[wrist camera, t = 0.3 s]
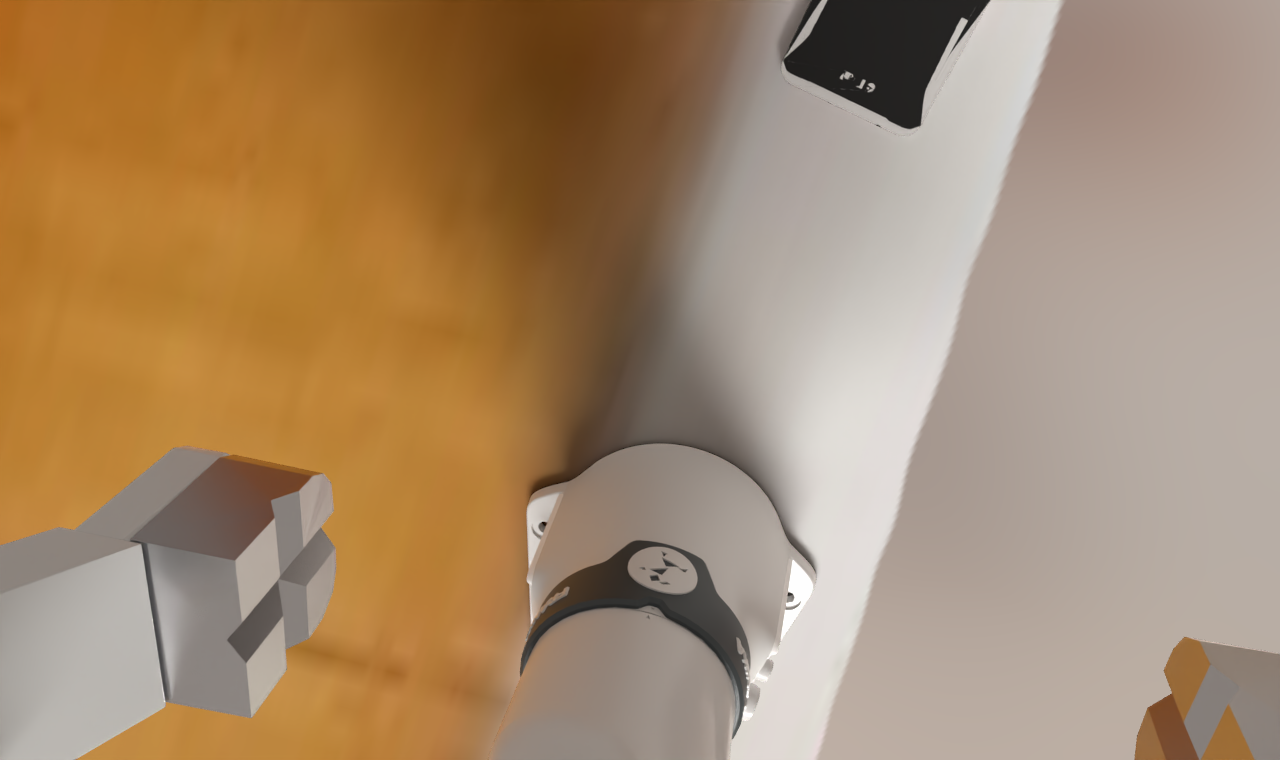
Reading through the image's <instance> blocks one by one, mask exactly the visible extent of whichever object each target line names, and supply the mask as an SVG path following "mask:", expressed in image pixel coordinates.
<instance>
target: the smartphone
mask: <svg viewBox="0 0 1280 760" xmlns="http://www.w3.org/2000/svg"><path fill="white" fill-rule="evenodd" d="M990 1H991V0H811V2H810V4H809V6H808V8H807V10H806V12H805V14H804V17H803V19H802V21H801V23H800V25H799V27H798V29H797V31H796V33H795V35H794V38H793V40H792V42H791V44H790V46H789V48H788V50H787V52H786V54H785V56H784V59H783V61H782V65H781V72H782V75H783V77H784V79H785V80H786V81H787V82H788V83H789V84H791V85H793V86H795V87H797V88H799V89H801V90H803V91H805V92H807V93H810V94H812V95H814V96H816V97H818V98H820V99H822V100H824V101H826V102H828V103H830V104H833V105H835V106H837V107H839V108H841V109H843V110H845V111H847V112H849V113H851V114H853V115H856V116H858V117H860V118H862V119H864V120H866V121H868V122H870V123H872V124H874V125H877V126H879V127H881V128H883V129H885V130H887V131H889V132H891V133H893V134H895V135H898V136H908V135H911V134H913V133H915V132H916V131H917V130H918V129H919V128H920V126H921V124H922V123H923V121H924V119H925V117H926V115H927V114H928V112H929V110H930V108H931V106H932V105H933V103H934V101H935V99H936V98H937V96H938V94H939V92H940V90H941V89H942V87H943V85H944V83H945V81H946V80H947V78H948V76H949V74H950V72H951V71H952V69H953V67H954V65H955V63H956V62H957V60H958V58H959V56H960V55H961V53H962V51H963V49H964V47H965V46H966V44H967V42H968V40H969V38H970V37H971V35H972V33H973V31H974V29H975V28H976V26H977V24H978V22H979V20H980V19H981V17H982V15H983V13H984V12H985V10H986V8H987V6H988V4H989V3H990Z"/></svg>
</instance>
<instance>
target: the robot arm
mask: <svg viewBox="0 0 1280 760" xmlns="http://www.w3.org/2000/svg"><path fill="white" fill-rule="evenodd" d="M333 511H334V509H333V498H332V486H331V482H330V481H329V480H328V479H327V478H326V476H325V475H324V474H323V473H318V472H314V471H309V470H304V469H299V468H295V467H290V466H285V465H280V464H276V463H271V462H266V461H261V460H257V459H252V458H247V457H242V456H238V455H229V454H227V453H223V452H218V451H212V450H207V449H202V448H196V447H191V446H183V447H176V448H173V449H172V450H170V451H169V452H168V453H167V454H166V455H164V456H163V457H162V458H161V459H159V460H158V461H157V462H156V463H155V464H153V465H152V466H151V467H150V468H149V469H147V470H146V471H145V472H144V473H143V474H141V475H140V476H139V477H138V478H137V479H135V480H134V481H133V482H132V483H130V484H129V485H128V486H127V487H126V488H124V489H123V490H122V491H121V492H120V493H118V494H117V495H116V496H115V497H114V498H112V499H111V500H110V501H109V502H108V503H106V504H105V505H104V506H103V507H101V508H100V509H99V510H98V511H97V512H95V513H94V514H93V515H92V516H91V517H89V518H88V519H87V520H86V521H85V522H83V523H82V524H81V525H80V526H79V527H77V528H76V529H75V530H71V529H66V528H60V527H58V528H55V529H52V530H49V531H45V532H42V533H39V534H36V535H33V536H29V537H26V538H23V539H20V540H16V541H13V542H10V543H7V544H4V545H0V760H75V759H77V758H79V757H81V756H82V755H84V754H86V753H87V752H89V751H91V750H93V749H94V748H96V747H98V746H99V745H101V744H103V743H104V742H106V741H108V740H110V739H111V738H113V737H115V736H116V735H118V734H120V733H122V732H123V731H125V730H127V729H128V728H130V727H132V726H134V725H135V724H137V723H139V722H140V721H142V720H144V719H146V718H147V717H149V716H151V715H152V714H154V713H156V712H157V711H159V710H161V709H163V708H164V707H165V706H166V703H165V702H169V703H174V704H180V705H185V706H190V707H195V708H201V709H206V710H211V711H217V712H222V713H227V714H232V715H238V716H243V717H248V718H252V717H253V715H254V714H255V713H256V711H257V710H258V708H259V707H260V706H261V704H262V703H263V702H264V700H265V699H266V697H267V696H268V695H269V693H270V692H271V691H272V689H273V688H274V686H275V685H276V684H277V682H278V681H279V679H280V678H281V677H282V675H283V674H284V673H285V671H286V670H287V665H286V650H285V649H288V648H290V647H292V646H294V645H296V644H298V643H300V642H302V641H304V640H307V639H309V638H310V636H311V635H312V633H313V632H314V630H315V629H316V627H317V626H318V624H319V623H320V621H321V620H322V618H323V616H324V613H325V611H326V608H327V605H328V603H329V600H330V597H331V595H332V592H333V587H334V580H335V573H336V550H335V547H334V545H333V544H332V542H331V541H330V540H329V538H328V537H327V535H326V534H325V533H324V531H323V530H322V528H321V526H322V525H323V524H324V522H325V521H326V520H327V519H328V517H329V516H330V515H331V514H332V512H333ZM542 522H547V525H546V526H544V525H543V524H542ZM527 539H528V565H529V571H528V575H527V582H528V583H529V591H530V617H531V626H530V629H529V632H528V634H527V637H526V640H525V641H527V642H526V645H525V647H524V651H523V654H522V658H521V667H520V677H521V678H520V680H519V683H518V685H517V687H516V690H515V692H514V695H513V697H512V699H511V702H510V704H509V707H508V709H507V711H506V714H505V716H504V719H503V721H502V723H501V726H500V728H499V731H498V733H497V735H496V738H495V740H494V743H493V745H492V748H491V750H490V753H489V757H488V760H730V751H731V741H732V739H733V738H734V736H735V735H736V732H737V730H738V728H739V726H740V724H741V721H745V720H746V721H748V720H749V719H750V718H751V716H752V715H753V713H754V711H755V708H756V706H757V703H758V700H759V696H760V688H759V687H758V686H757V685H755V684H753V683H754V681H755V680H756V679H757V680H759V681H762V682H766V681H767V680H768V678H769V676H770V674H771V672H772V669H773V661H772V660H770V657H771V656H772V655H775V654H776V653H777V651H778V649H779V645H780V642H781V640H782V639H783V637H784V636H785V634H786V633H787V631H788V630H789V628H790V627H791V625H792V624H793V622H794V621H795V619H796V618H797V616H798V615H799V613H800V612H801V610H802V609H803V607H804V606H805V604H806V603H807V601H808V600H809V598H810V597H811V595H812V593H813V591H814V588H815V584H816V573H815V571H814V569H813V568H812V566H811V565H810V564H809V562H808V561H807V560H806V559H805V558H804V557H803V556H802V555H801V554H800V553H799V552H798V551H797V550H796V549H795V548H794V547H793V546H792V545H791V544H790V542H789V541H788V539H787V537H786V535H785V533H784V530H783V528H782V525H781V522H780V520H779V517H778V515H777V513H776V510H775V508H774V507H773V505H772V503H771V502H770V500H769V499H768V497H767V496H766V494H765V493H764V492H763V491H762V489H761V488H760V487H759V486H758V485H757V484H756V483H755V482H754V481H753V480H752V479H751V478H750V477H749V476H748V475H746V474H745V473H744V472H743V471H741V470H740V469H739V468H737V467H736V466H734V465H733V464H731V463H729V462H728V461H726V460H724V459H722V458H720V457H718V456H716V455H713V454H711V453H708V452H706V451H703V450H699V449H696V448H692V447H688V446H682V445H675V444H645V445H638V446H633V447H629V448H625V449H622V450H619V451H617V452H614V453H612V454H610V455H608V456H606V457H604V458H602V459H600V460H599V461H597V462H596V463H594V464H593V465H592V466H590V467H589V468H588V469H587V470H585V471H584V472H583V473H582V474H580V475H579V476H577V477H576V478H574V479H573V480H571V481H569V482H564V483H560V484H556V485H552V486H548V487H545V488H542V489H540V490H538V491H536V492H535V493H533V494H532V496H531V497H530V500H529V503H528V506H527ZM788 592H791V593H793V595H791V596H788ZM1164 673H1165V675H1166V678H1167V681H1168V683H1169V686H1170V688H1171V691H1172V694H1170V695H1168V696H1167V697H1165V698H1163V699H1162V700H1160V701H1159V702H1157V703H1155V704H1153V705H1152V706H1150V707H1148V708H1147V711H1146V714H1145V716H1144V719H1143V722H1142V724H1141V727H1140V730H1139V732H1138V735H1137V742H1136V751H1135V760H1280V654H1279V653H1274V652H1268V651H1262V650H1257V649H1251V648H1245V647H1239V646H1234V645H1228V644H1223V643H1217V642H1211V641H1206V640H1200V639H1195V638H1189V637H1184V638H1183V639H1182V640H1181V641H1180V642H1179V643H1178V645H1177V646H1176V647H1175V648H1174V649H1173V651H1172V653H1171V655H1170V658H1169V660H1168V662H1167V664H1166V667H1165V669H1164Z"/></svg>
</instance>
